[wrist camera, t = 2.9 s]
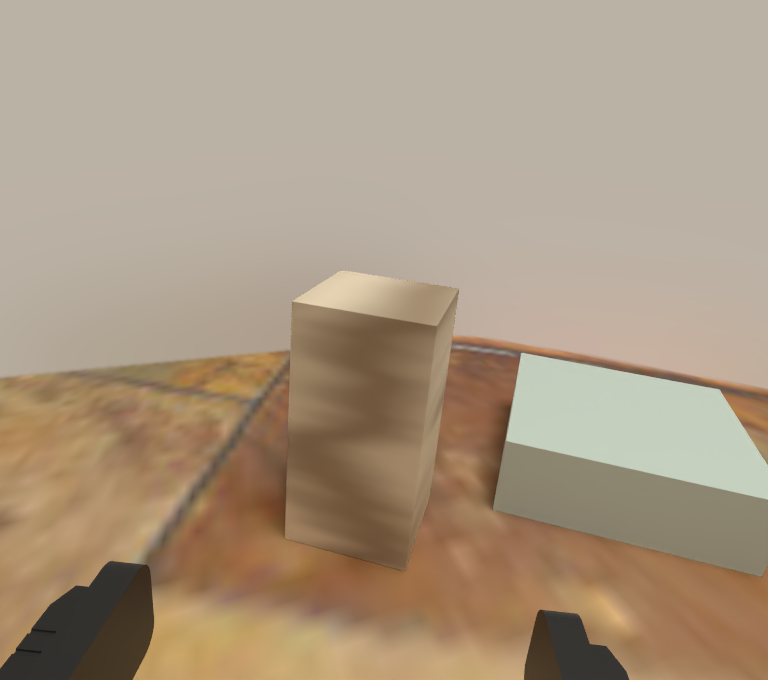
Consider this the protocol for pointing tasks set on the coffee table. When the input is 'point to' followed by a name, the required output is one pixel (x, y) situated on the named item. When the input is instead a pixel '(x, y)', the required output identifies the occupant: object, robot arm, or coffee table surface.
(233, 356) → the coffee table surface
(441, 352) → the maple pillar block
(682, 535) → the sage base block
